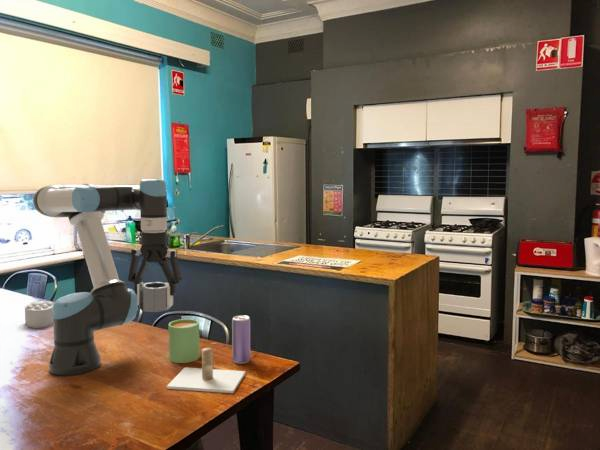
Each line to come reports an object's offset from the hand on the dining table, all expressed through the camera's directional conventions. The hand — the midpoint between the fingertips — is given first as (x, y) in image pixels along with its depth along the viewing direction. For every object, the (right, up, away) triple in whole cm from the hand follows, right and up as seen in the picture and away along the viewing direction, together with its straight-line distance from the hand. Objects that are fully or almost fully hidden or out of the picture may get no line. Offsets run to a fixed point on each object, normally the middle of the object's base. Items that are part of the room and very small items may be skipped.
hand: (155, 304), depth 146 cm
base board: (+16, -23, 0) cm, 28 cm away
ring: (0, -1, 0) cm, 1 cm away
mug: (+4, -21, +20) cm, 29 cm away
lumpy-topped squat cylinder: (-65, -17, +56) cm, 87 cm away
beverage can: (+24, -22, +16) cm, 36 cm away
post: (+16, -23, 0) cm, 28 cm away
